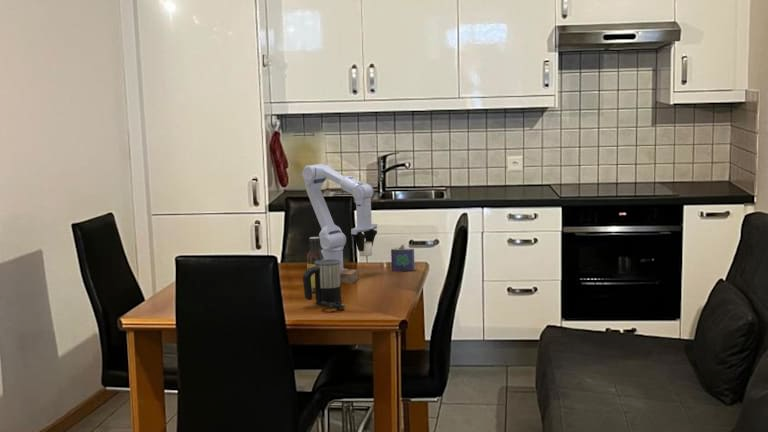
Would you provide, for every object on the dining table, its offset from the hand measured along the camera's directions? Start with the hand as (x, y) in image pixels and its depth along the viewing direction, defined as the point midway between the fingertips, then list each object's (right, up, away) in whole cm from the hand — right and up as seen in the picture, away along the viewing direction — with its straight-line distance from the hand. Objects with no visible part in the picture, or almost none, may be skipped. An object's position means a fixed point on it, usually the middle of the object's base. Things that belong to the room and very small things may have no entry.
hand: (365, 249), depth 357 cm
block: (-8, -12, -6) cm, 16 cm away
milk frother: (-11, -18, -45) cm, 49 cm away
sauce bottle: (-17, -15, -21) cm, 31 cm away
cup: (0, -2, 0) cm, 2 cm away
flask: (+15, -9, +9) cm, 20 cm away
